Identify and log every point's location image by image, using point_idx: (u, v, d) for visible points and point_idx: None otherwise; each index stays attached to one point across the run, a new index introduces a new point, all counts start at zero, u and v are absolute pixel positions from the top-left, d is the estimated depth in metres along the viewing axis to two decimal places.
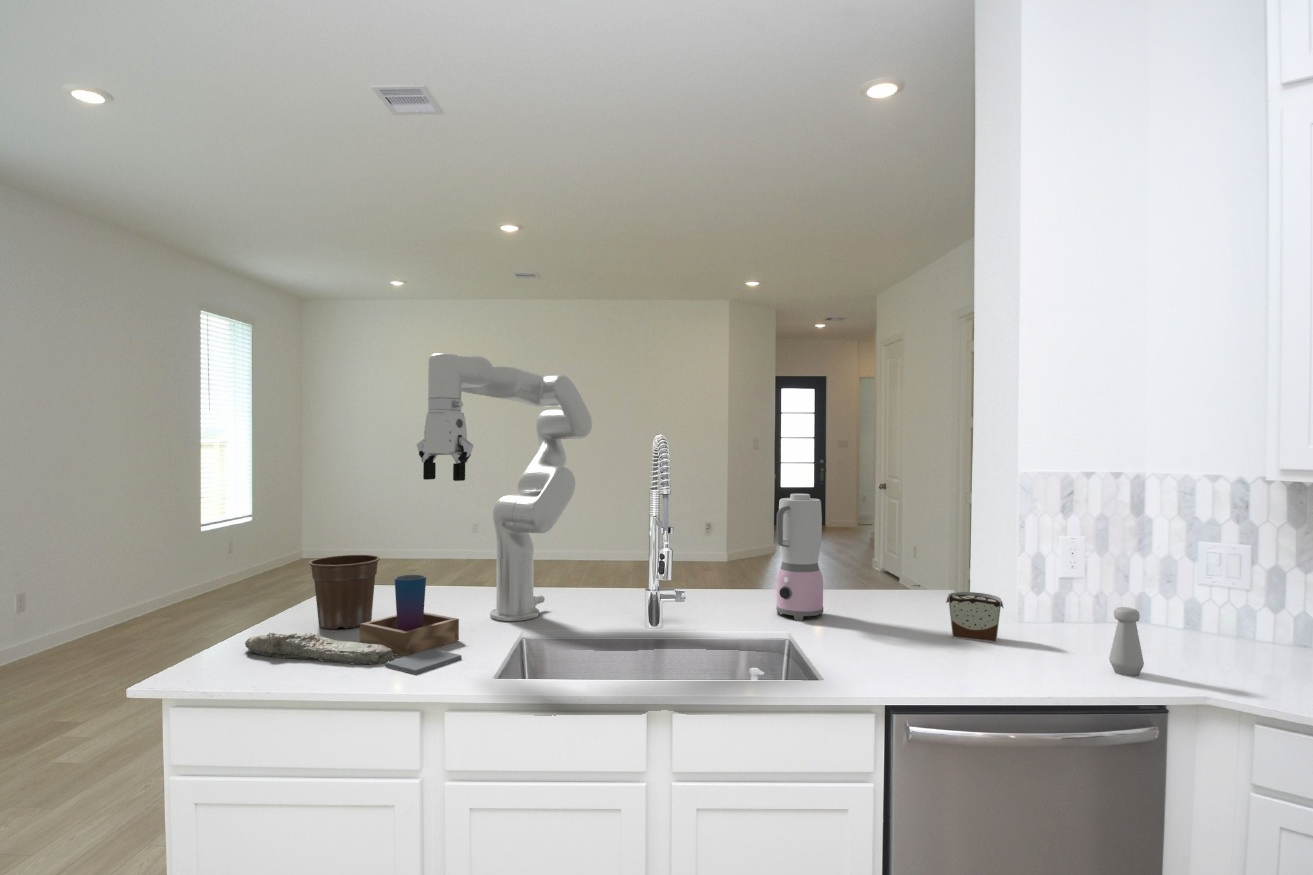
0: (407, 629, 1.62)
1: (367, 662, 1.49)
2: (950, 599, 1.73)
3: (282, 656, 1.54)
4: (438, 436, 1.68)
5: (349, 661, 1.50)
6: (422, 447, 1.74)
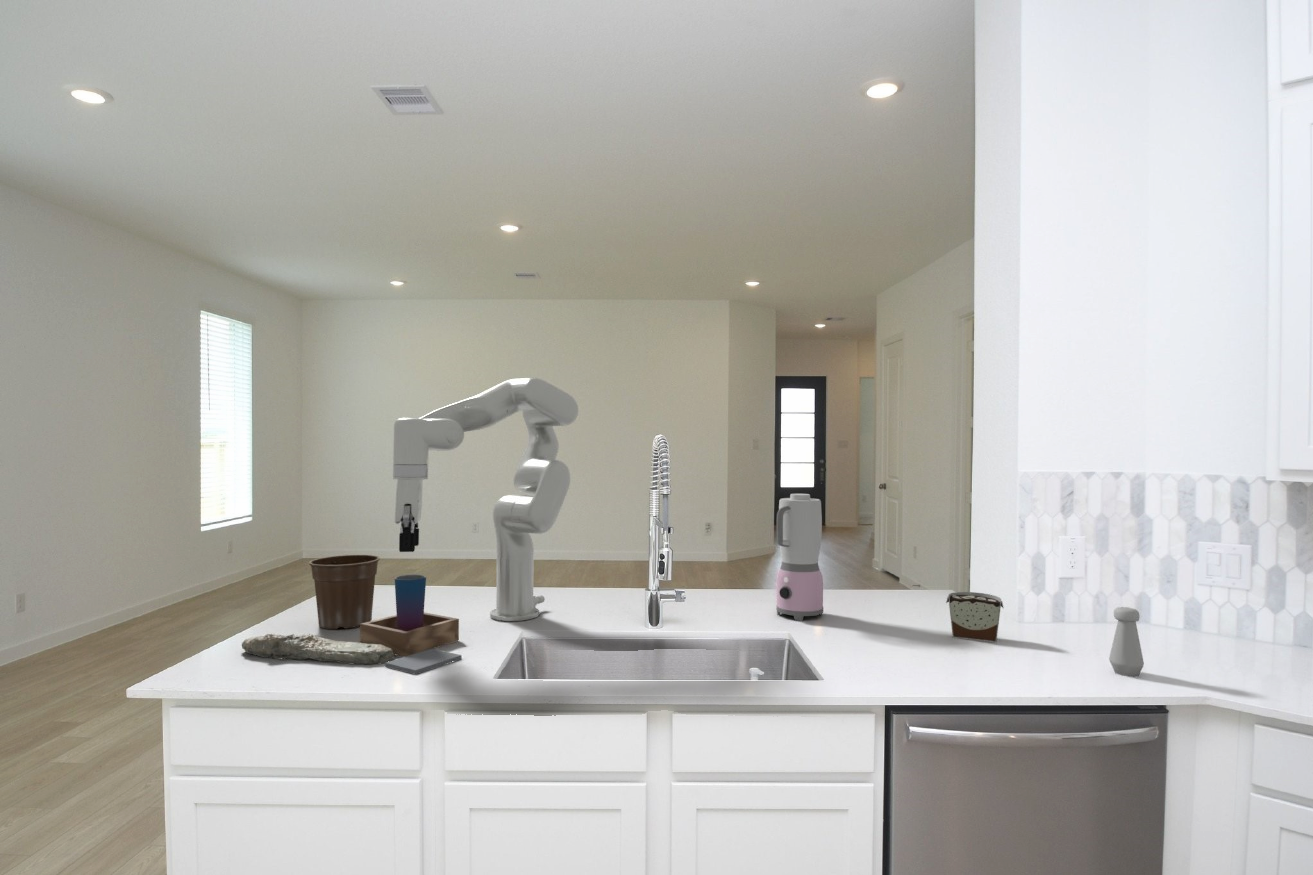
0: (407, 629, 1.62)
1: (368, 662, 1.49)
2: (950, 599, 1.73)
3: (280, 657, 1.53)
4: (421, 503, 1.66)
5: (349, 661, 1.50)
6: None
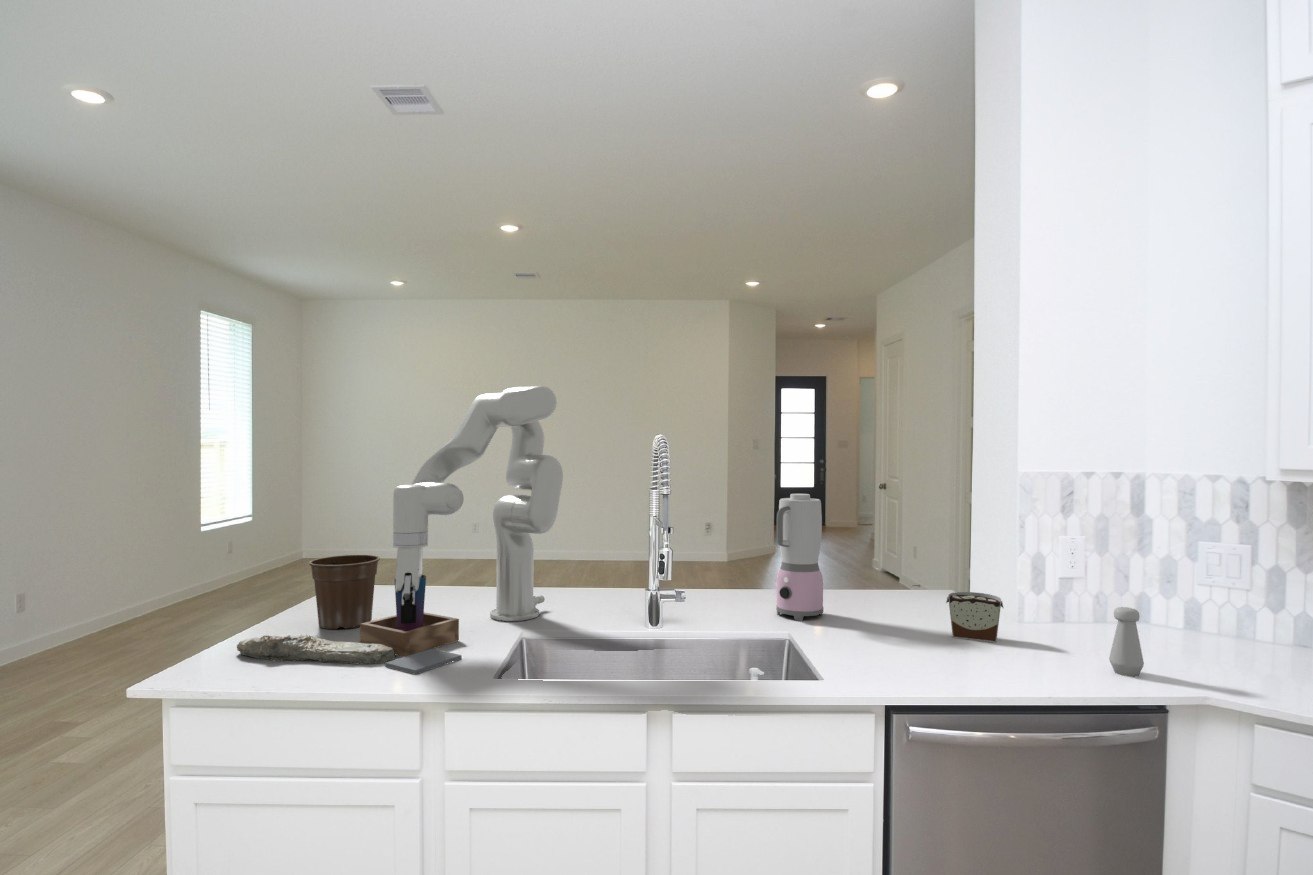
0: (407, 629, 1.62)
1: (369, 661, 1.50)
2: (950, 599, 1.73)
3: (279, 658, 1.52)
4: None
5: (351, 661, 1.50)
6: None
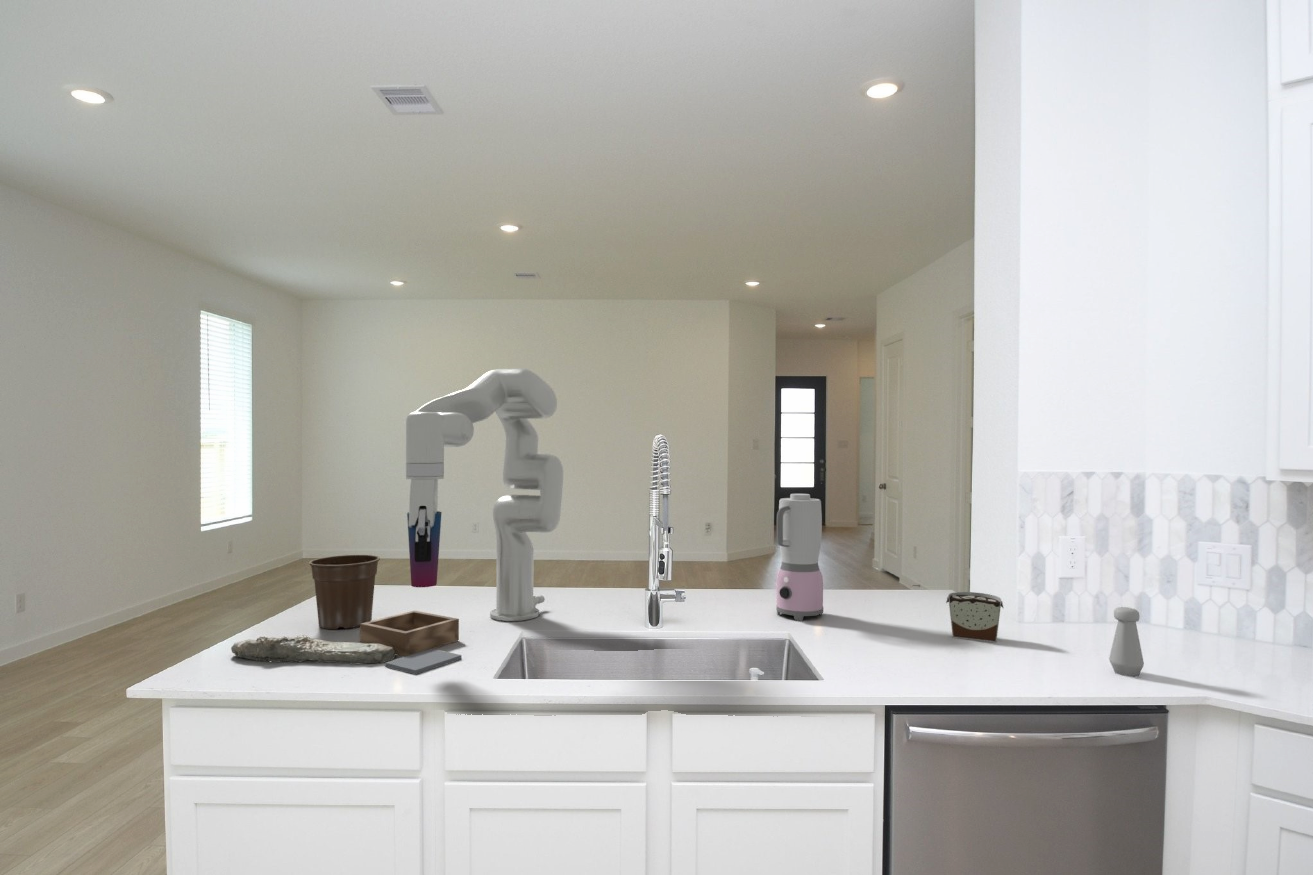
0: (421, 568, 1.48)
1: (370, 661, 1.50)
2: (950, 599, 1.73)
3: (276, 660, 1.51)
4: None
5: (351, 661, 1.50)
6: None
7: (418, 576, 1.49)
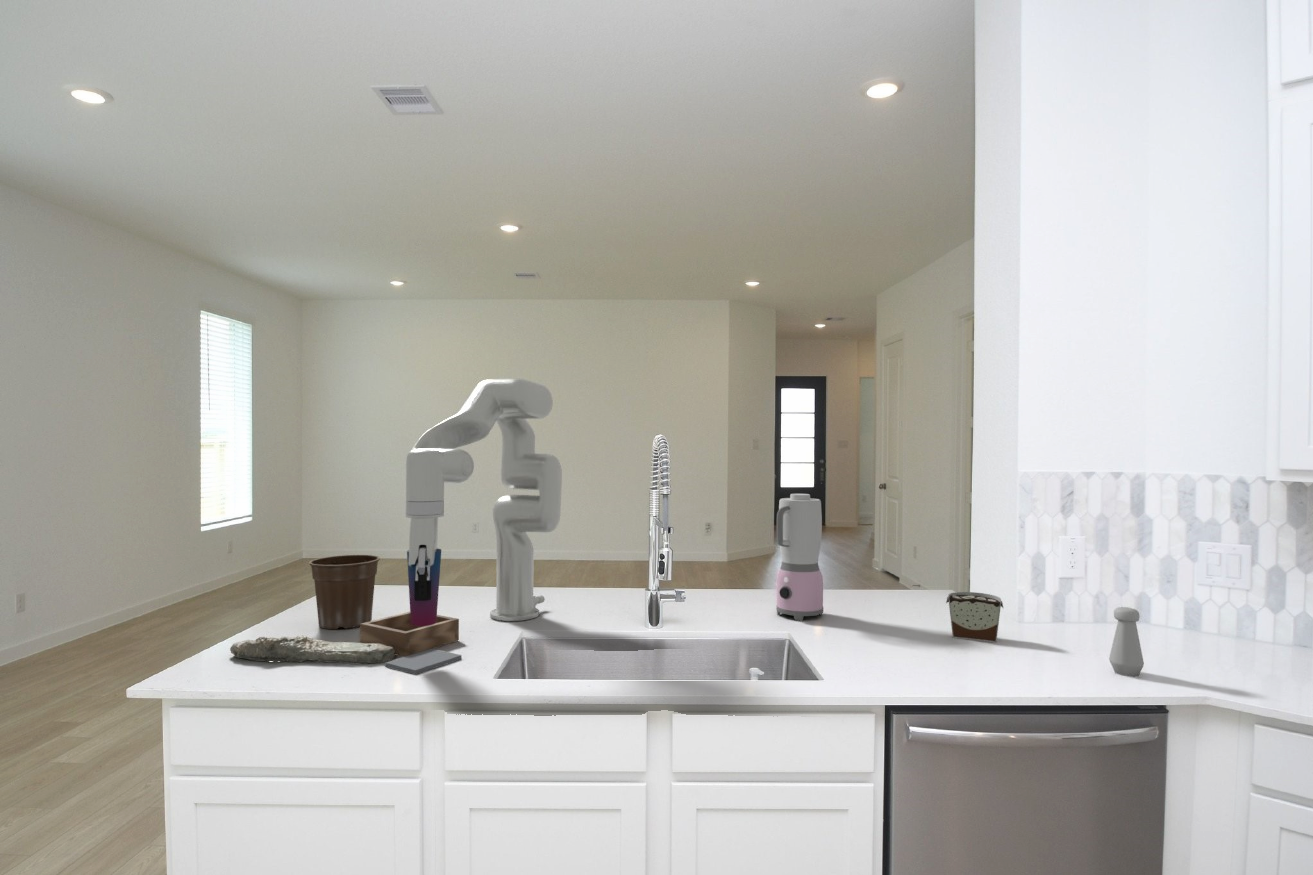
0: (421, 607, 1.48)
1: (371, 661, 1.50)
2: (950, 599, 1.73)
3: (276, 660, 1.51)
4: None
5: (352, 661, 1.50)
6: None
7: (418, 614, 1.48)
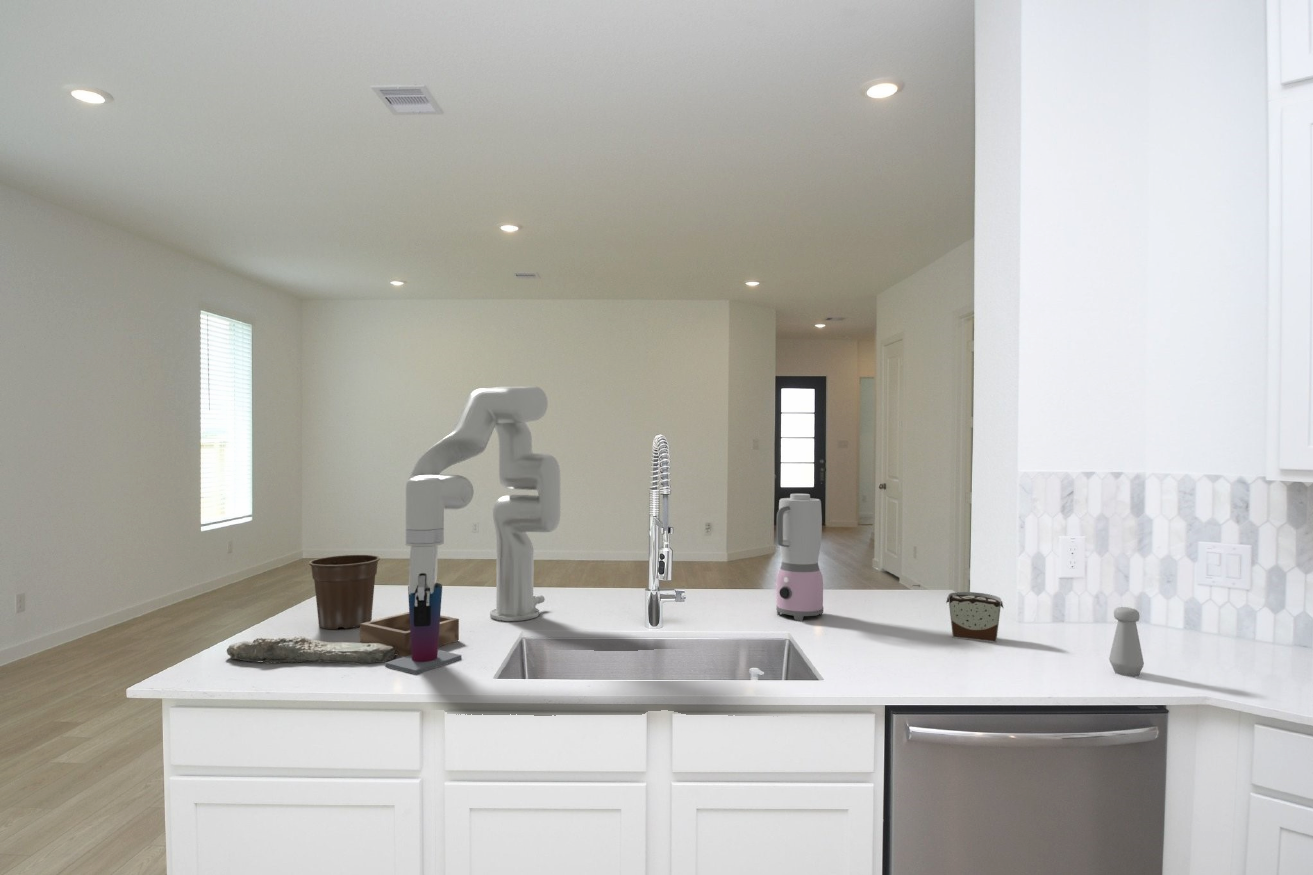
0: (422, 643, 1.48)
1: (372, 661, 1.50)
2: (950, 599, 1.73)
3: (274, 661, 1.50)
4: None
5: (352, 661, 1.50)
6: None
7: (419, 650, 1.48)
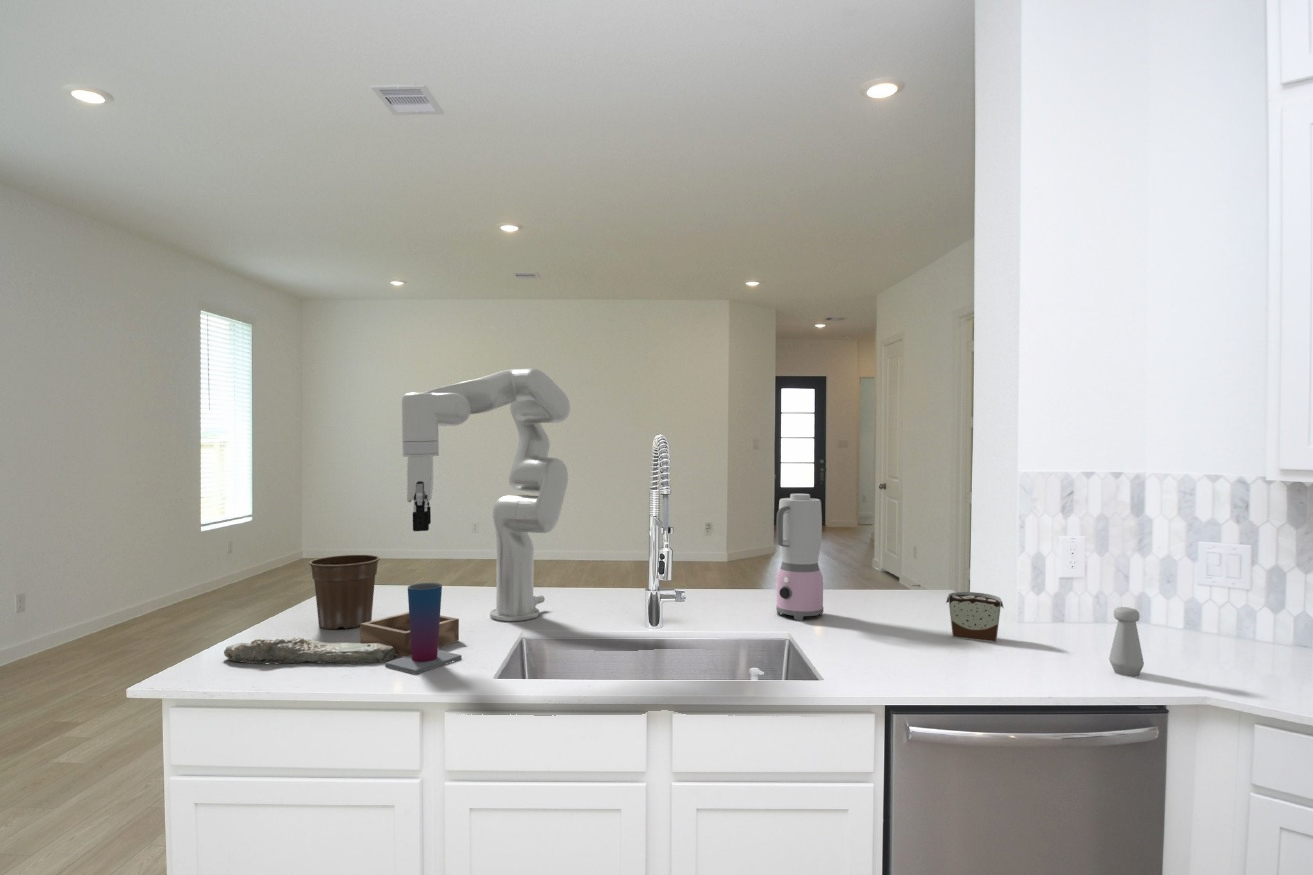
0: (422, 643, 1.48)
1: (372, 660, 1.51)
2: (950, 599, 1.73)
3: (273, 662, 1.50)
4: None
5: (353, 661, 1.50)
6: None
7: (419, 650, 1.48)
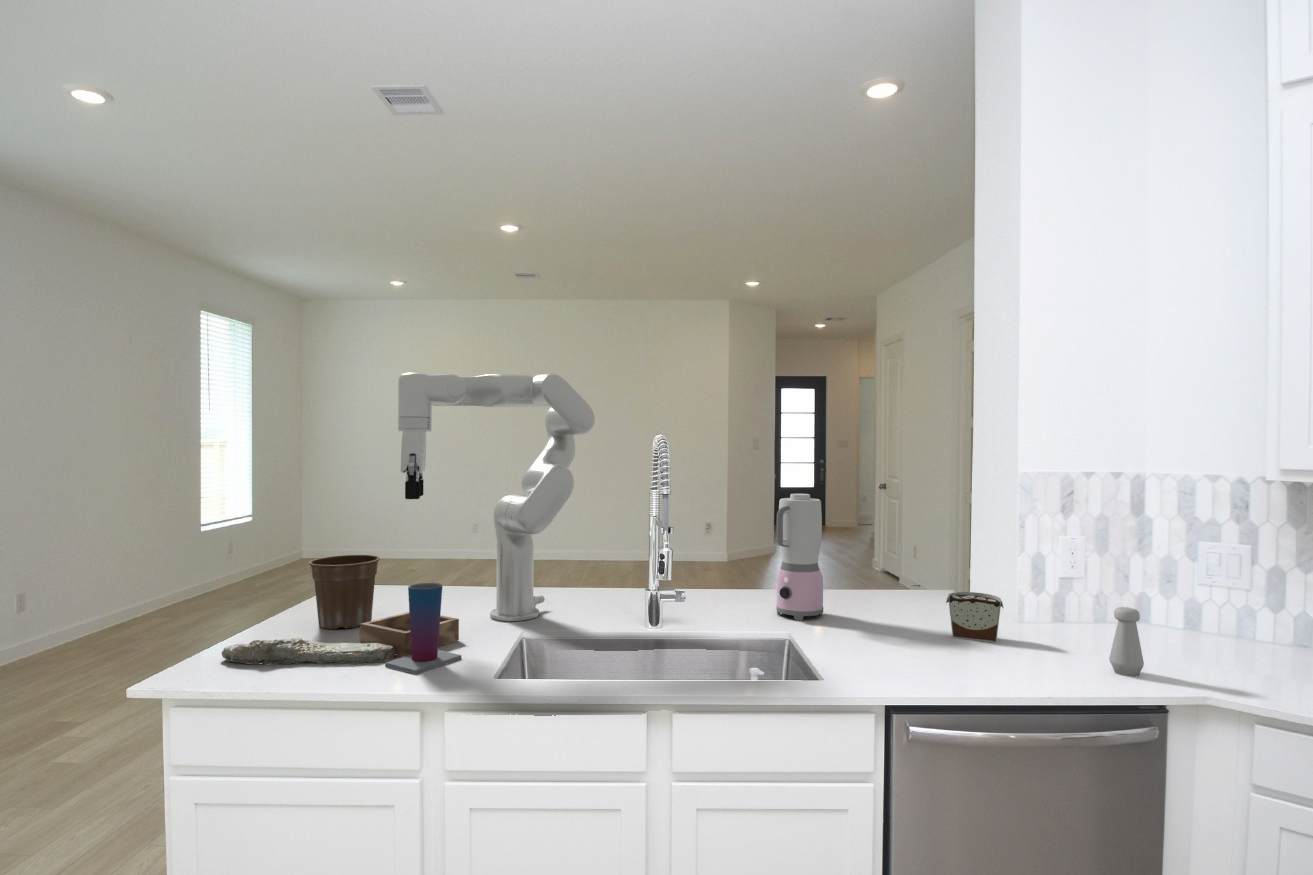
0: (422, 643, 1.48)
1: (373, 660, 1.51)
2: (950, 599, 1.73)
3: (273, 663, 1.49)
4: (425, 454, 1.75)
5: (353, 661, 1.50)
6: None
7: (419, 650, 1.48)
